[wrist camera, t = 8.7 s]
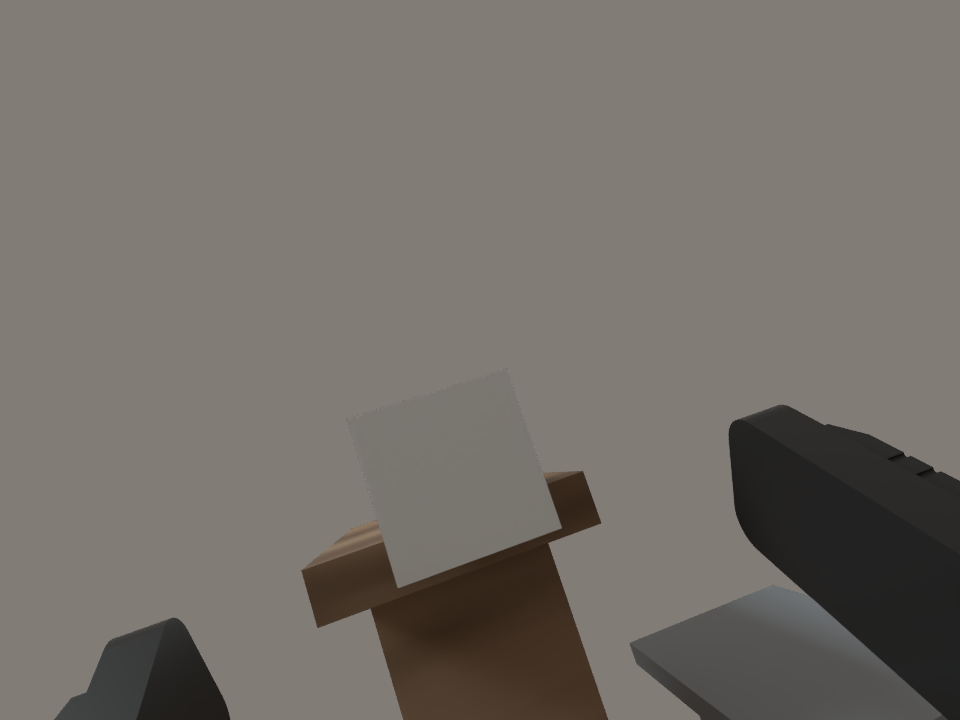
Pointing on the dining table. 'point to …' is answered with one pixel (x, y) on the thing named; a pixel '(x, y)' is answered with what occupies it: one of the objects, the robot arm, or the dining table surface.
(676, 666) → the grey pedestal column
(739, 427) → the robot arm
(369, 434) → the white square bar
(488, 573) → the tall tower
